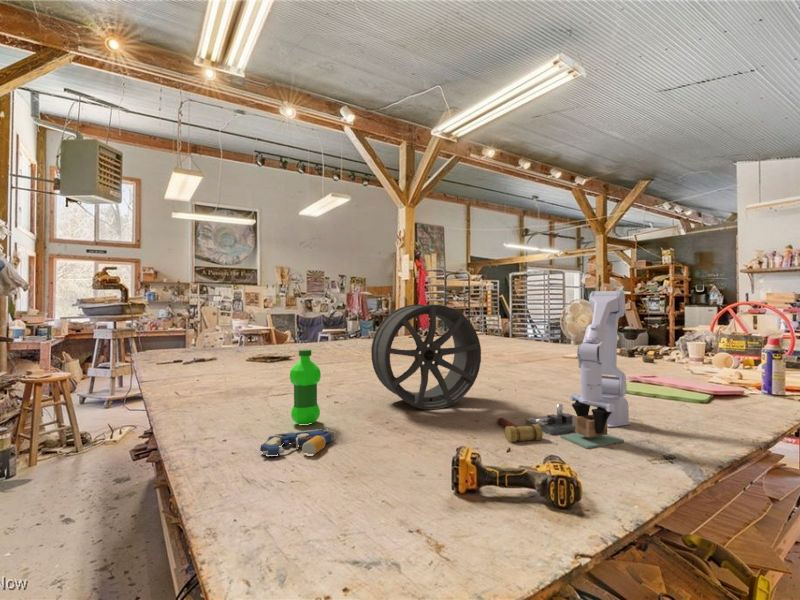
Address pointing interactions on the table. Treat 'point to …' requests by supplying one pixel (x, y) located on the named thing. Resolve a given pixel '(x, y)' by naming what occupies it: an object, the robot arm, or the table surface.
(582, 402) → the robot arm
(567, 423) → the vise
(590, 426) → the sleeve block
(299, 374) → the plastic bottle
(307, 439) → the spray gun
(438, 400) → the car wheel rim
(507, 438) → the gavel
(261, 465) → the table surface
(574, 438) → the mat
